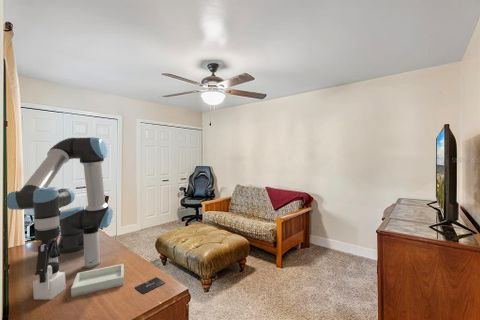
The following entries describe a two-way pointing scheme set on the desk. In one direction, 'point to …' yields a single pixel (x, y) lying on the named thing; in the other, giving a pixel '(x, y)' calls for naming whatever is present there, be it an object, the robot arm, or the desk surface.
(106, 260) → the desk surface
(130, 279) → the desk surface
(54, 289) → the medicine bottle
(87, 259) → the travel mug
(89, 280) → the tray
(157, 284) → the solid state drive
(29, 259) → the desk surface
